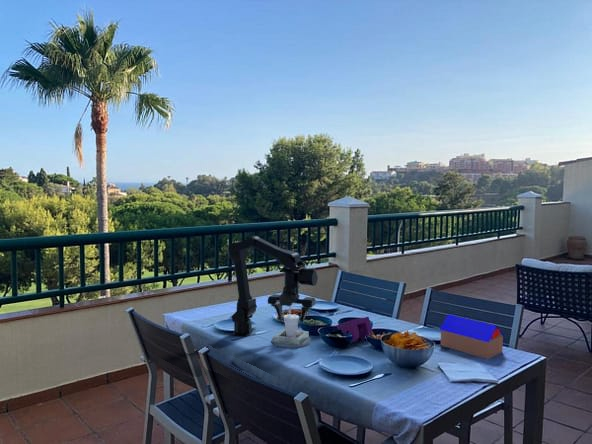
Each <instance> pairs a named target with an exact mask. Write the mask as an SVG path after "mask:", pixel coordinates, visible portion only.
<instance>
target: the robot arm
mask: <svg viewBox="0 0 592 444" xmlns="http://www.w3.org/2000/svg"><path fill="white" fill-rule="evenodd" d="M252 248H255V249H257V250H259V251H260V252H263V253H265V254H267V255H269V256H271V257H272V258H275V259H276V260H277V261H278V262H279V264H281V265H282V268H281V269H279V273H284V286H283V288H282V290H283V291H282V292H281V293H280V294H272V295H270V296H268V298H267V304H269V305H270V306H271V307H273V308H274V309H275V312H276V313H277V316H278V319H279V321H280V322H281V321H282V320H283V306H287V307H289V306H292V305H293V304H300V305H301V308H300V309H301V316H300V317H301V319H300V321H301V324H303V323H304V321H305V318H306V316H307V313H308V311H309V309H310V308H313V307H314V306H315V305H316V298H315V297H310V296H309V297H308V296H306V297H304V298H300V294H299V293H300V292H299V291H300V290H299V289H300V285H302V286H311V287H313V286H314V287H315V286H316V285H317V283H318V277H319V276H318V273H317V271H316V268H314V267H312V268H311V267H310V268H307V267H306V265H305V263H304V262H303V260H302V259H301V255H300V254H299V252H297V251H293V250H291V249H290V250H289V249H284V248H280V247H279V246H278V245H275V244H272V243H270V242H269V241H267V240H265V239H262V238H261V237H259V236H257V235H253V236H250V237H248V238H246V239H243V240H238V241H232V242H231V243H230V244H229V245H228V248H227V250H228V254H229V257H230V259H231V260H232V262H233V264H234V271H235V278H236V285H237V292H238V293H237V294H238V298H237V301H236V311H235V312H234V313H233V314H232V315H231V317H230V318H231V321H232V322H233V324H234V325H233V329H234V331H233V333H232V335H233V336H239V337H247V336H249V335H250V334H251V333H252V334H253V328H252V326H253V325H252V324H253V323H252V321H251V319H252V318H253V315H255V313H256V310H257V308H258V305H257V300H256V298H255V297H254V298H253V297H252V296H251V293H250V285H249V278H248V270H247V263H246V262H247V258H248V252H249V251H248V250H250V249H252Z"/></svg>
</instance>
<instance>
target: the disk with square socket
mask: <svg viewBox="0 0 592 444" xmlns="http://www.w3.org/2000/svg"><path fill="white" fill-rule="evenodd" d="M309 334H310V333H309V331H307V330H300V329H297V334H296V338H293V337H286V329H285V328H283V329H281V330H280V331H279V332H278V333H277V334H275V335H274V336H273V337H272V338H271V343H272V344H273V345H274V346H276V347H280V348H284V349H296V348H297V349H298V348H304V347H307V346H309V345H311V343H312V339H311V337H310V336H309Z"/></svg>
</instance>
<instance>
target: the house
mask: <svg viewBox="0 0 592 444" xmlns="http://www.w3.org/2000/svg"><path fill="white" fill-rule="evenodd" d="M503 340H504V333H503V331H502V330H501V329H500V328H499V327H498V325H496V324H492V323H487V322H483V321H479V320H475V319H471V318H465V317H460V316H457V315H454V314H449V313H448V315H447V316H446V317H445V319H444V321H443V323H442V324H441V327H440V346H441V347H445V348H448V349H452V350H455V351H458V352H462V353H465V354H469V355H472V356H475V357H479V358H482V359H485V360H489V359H491V358H493V357H495V356H498V355H500V354H501V353H503V345H504V343H503V342H504V341H503Z"/></svg>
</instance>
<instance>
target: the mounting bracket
mask: <svg viewBox="0 0 592 444" xmlns="http://www.w3.org/2000/svg"><path fill="white" fill-rule="evenodd" d="M332 327H337V328H338V329H339V330H340V329H341V331H340V332H341V334H342V333H345V334H346V335H347V334H348V333H349V332H350V335H352V336H353V337H354V338H353V340H352V342H351V343H350V344H352V343H356V342H358V341H359V339H361V340H363V341H365V340H367V339H366V338H365V336H366V335H368V334H372V335H373V328H372V327H373V326H372V325H371V321H370V317H369V316H365V317H359V318H356V319H349V320H347V321H345V322H341V323H339V324H337V325H334V326H332Z"/></svg>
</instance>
